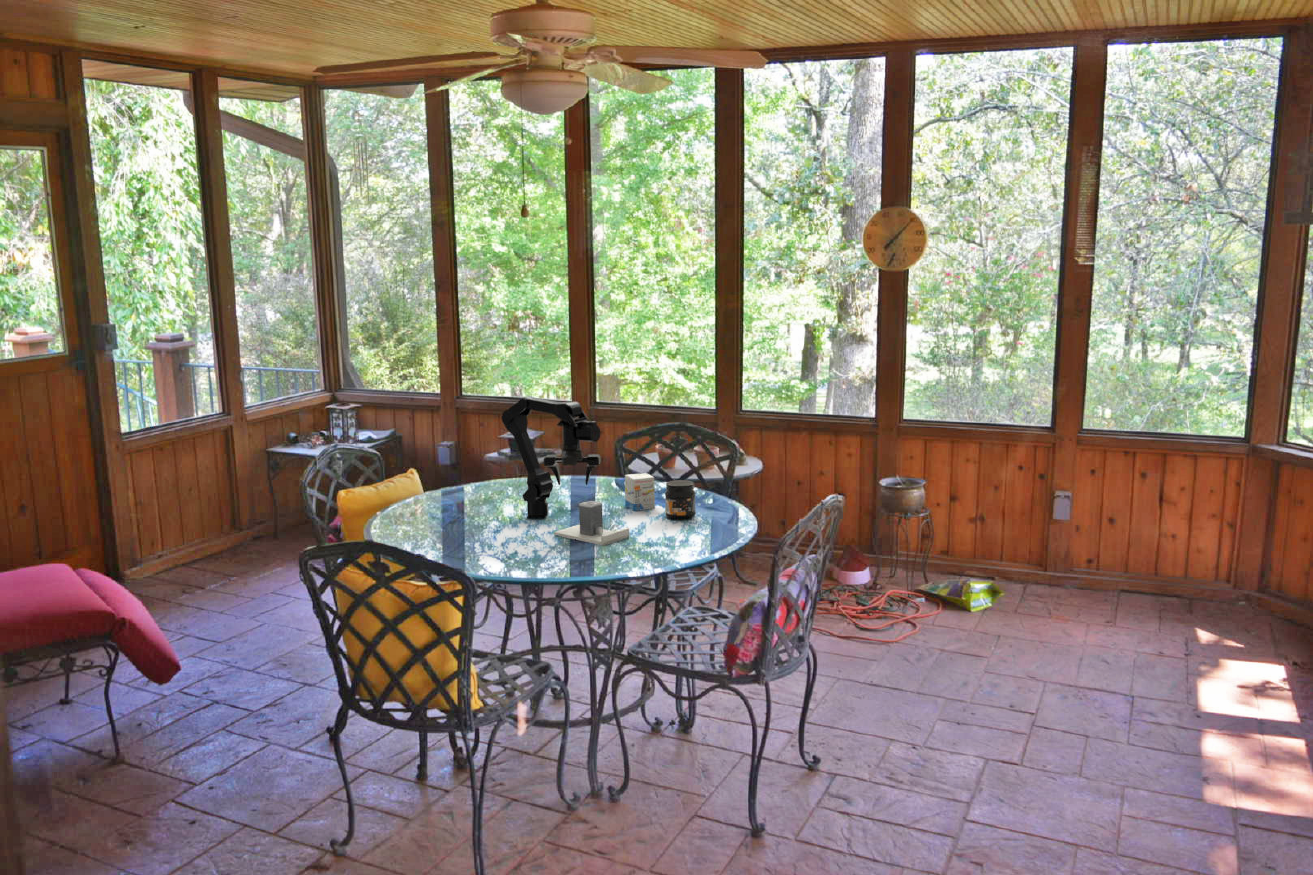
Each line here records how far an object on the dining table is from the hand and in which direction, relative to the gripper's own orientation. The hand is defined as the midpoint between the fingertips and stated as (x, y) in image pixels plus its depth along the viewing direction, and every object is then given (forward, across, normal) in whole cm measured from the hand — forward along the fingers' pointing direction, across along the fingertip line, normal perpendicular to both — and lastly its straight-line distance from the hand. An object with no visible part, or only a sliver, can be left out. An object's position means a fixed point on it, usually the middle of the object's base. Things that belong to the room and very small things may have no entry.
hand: (573, 484), depth 362 cm
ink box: (+13, +21, +21) cm, 33 cm away
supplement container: (+13, +36, +7) cm, 39 cm away
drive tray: (+13, +8, -18) cm, 24 cm away
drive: (+12, +8, -18) cm, 23 cm away
